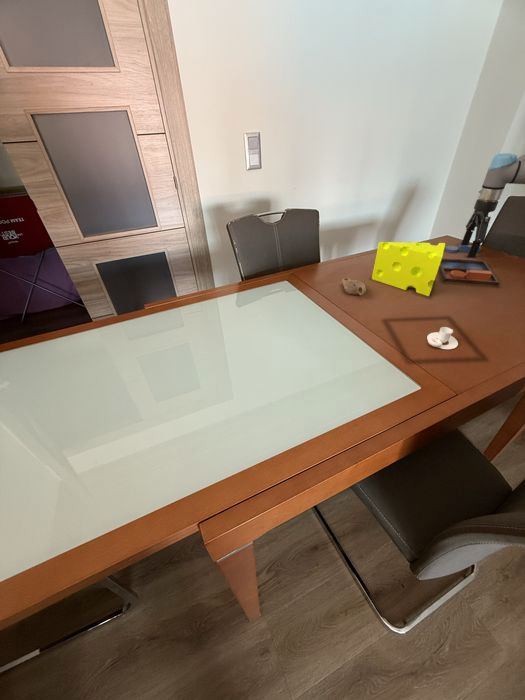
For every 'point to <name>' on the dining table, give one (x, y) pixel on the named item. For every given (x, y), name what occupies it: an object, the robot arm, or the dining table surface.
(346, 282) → the oil lamp
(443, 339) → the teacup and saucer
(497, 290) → the dining table surface
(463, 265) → the cutlery tray
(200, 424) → the dining table surface
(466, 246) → the blue spoon
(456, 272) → the terracotta spoon
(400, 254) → the cheese wedge
